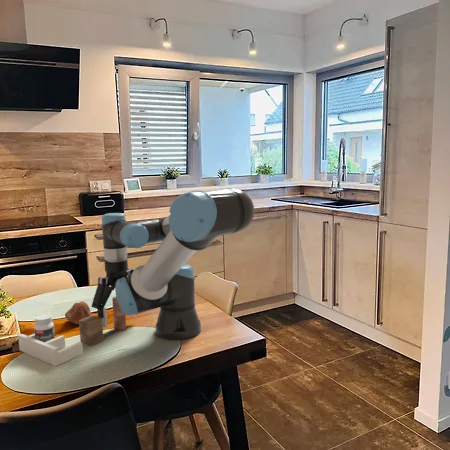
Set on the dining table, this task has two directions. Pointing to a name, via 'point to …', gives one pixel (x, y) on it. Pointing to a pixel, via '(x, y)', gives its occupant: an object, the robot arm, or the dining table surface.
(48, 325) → the pill bottle
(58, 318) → the dining table surface
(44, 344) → the white open tray
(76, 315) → the fossil
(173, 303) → the robot arm
